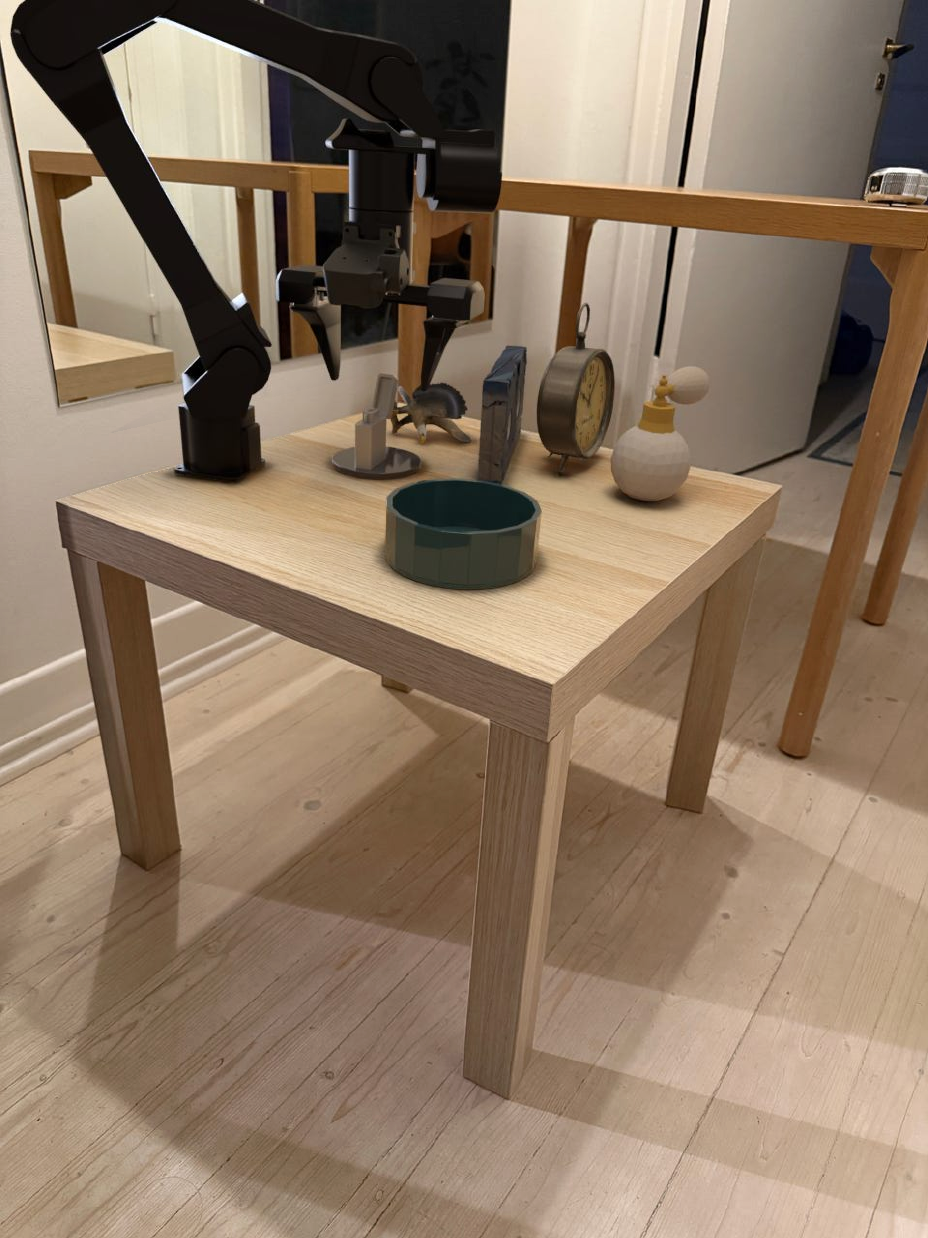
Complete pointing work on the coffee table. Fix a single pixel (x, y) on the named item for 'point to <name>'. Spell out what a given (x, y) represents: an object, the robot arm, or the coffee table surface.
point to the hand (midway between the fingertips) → (379, 385)
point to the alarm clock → (576, 399)
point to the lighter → (375, 424)
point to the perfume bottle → (658, 441)
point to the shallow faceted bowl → (461, 533)
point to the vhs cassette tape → (501, 413)
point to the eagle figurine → (431, 410)
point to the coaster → (391, 467)
